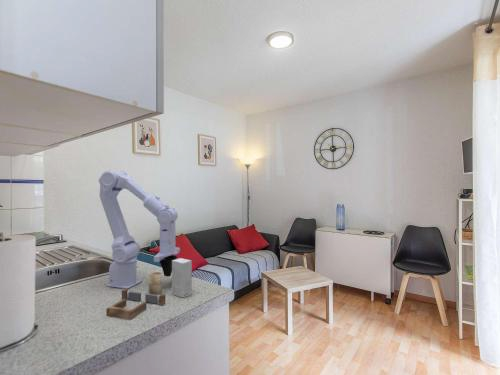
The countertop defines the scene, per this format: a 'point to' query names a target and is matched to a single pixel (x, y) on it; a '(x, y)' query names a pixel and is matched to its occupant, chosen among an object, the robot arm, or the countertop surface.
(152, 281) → the peg
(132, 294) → the flap left
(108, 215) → the robot arm
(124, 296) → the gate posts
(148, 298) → the flap right
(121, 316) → the bay
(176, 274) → the skincare box
